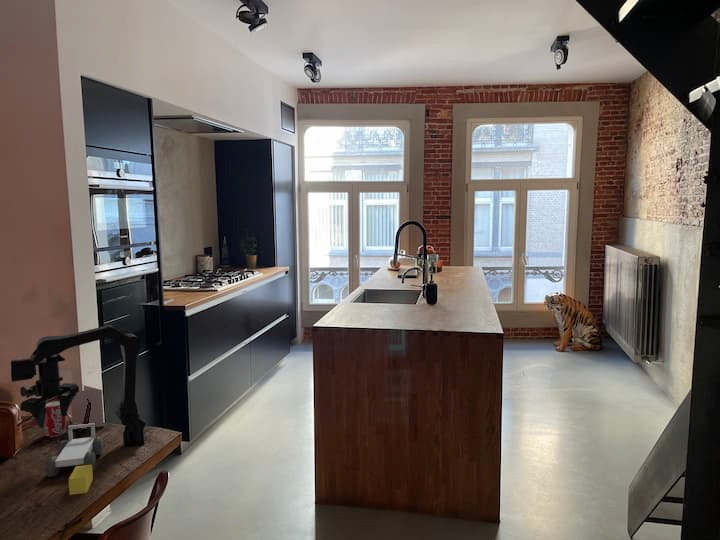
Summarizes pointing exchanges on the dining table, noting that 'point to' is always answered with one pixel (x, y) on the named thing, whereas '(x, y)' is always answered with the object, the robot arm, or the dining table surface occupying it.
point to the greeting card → (81, 404)
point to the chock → (80, 479)
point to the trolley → (76, 451)
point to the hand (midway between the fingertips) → (52, 421)
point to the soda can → (54, 420)
